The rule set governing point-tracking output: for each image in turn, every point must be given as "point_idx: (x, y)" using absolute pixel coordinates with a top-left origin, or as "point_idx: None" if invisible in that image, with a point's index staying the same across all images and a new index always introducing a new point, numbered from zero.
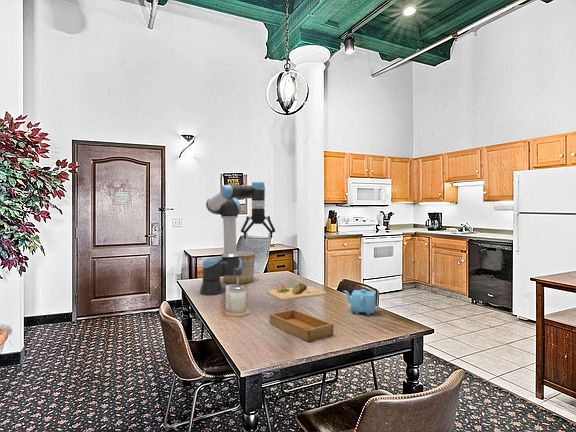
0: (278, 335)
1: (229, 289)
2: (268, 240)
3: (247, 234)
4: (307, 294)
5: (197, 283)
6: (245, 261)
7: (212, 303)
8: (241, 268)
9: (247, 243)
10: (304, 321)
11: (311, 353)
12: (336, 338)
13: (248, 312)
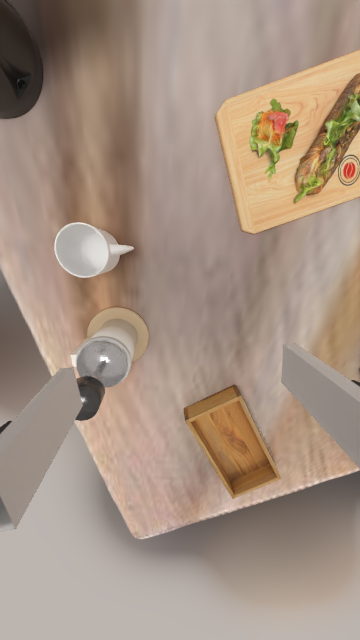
0: (190, 457)
1: None
2: (302, 363)
3: (24, 510)
4: (335, 199)
5: None
6: None
7: (37, 240)
8: (95, 407)
9: (78, 412)
10: (247, 418)
11: (221, 509)
12: None
13: (143, 349)
